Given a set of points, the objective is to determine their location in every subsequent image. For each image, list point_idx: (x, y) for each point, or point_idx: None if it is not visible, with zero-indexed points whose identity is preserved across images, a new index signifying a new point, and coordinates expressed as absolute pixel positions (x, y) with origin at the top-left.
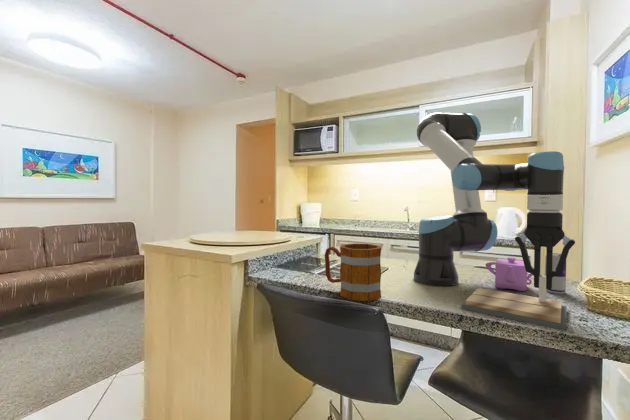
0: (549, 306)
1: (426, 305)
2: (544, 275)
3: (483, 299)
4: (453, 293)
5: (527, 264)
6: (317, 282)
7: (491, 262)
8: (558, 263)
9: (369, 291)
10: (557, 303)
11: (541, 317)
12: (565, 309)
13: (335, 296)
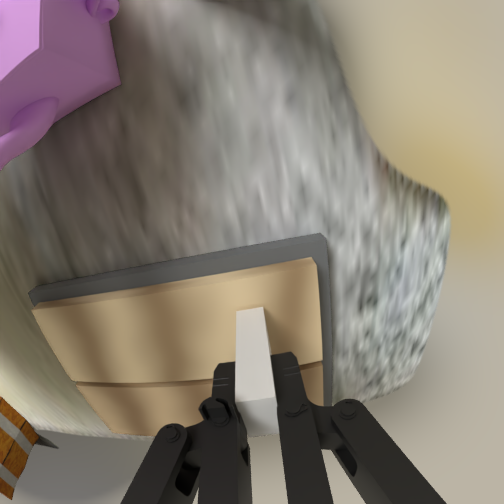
0: None
1: (75, 426)
2: (262, 400)
3: (125, 412)
4: (15, 319)
5: (184, 492)
6: None
7: None
8: (362, 495)
9: (31, 445)
10: (306, 311)
11: None
12: (327, 291)
13: None
